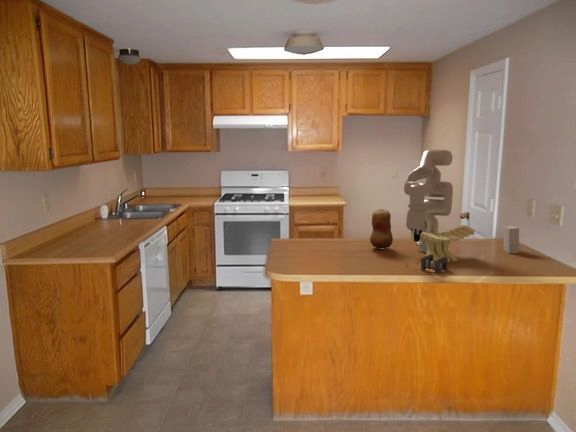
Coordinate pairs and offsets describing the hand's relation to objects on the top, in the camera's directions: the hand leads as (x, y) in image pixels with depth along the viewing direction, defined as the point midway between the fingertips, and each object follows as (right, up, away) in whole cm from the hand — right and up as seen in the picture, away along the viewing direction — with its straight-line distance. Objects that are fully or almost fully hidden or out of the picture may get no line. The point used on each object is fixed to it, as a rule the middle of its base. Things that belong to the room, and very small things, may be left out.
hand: (416, 240), depth 245 cm
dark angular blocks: (+10, -15, -9) cm, 20 cm away
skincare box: (+61, -8, +23) cm, 66 cm away
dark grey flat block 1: (+5, -14, -3) cm, 15 cm away
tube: (+7, -15, -5) cm, 17 cm away
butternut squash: (-11, -7, +40) cm, 42 cm away
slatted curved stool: (+18, -11, +15) cm, 26 cm away
